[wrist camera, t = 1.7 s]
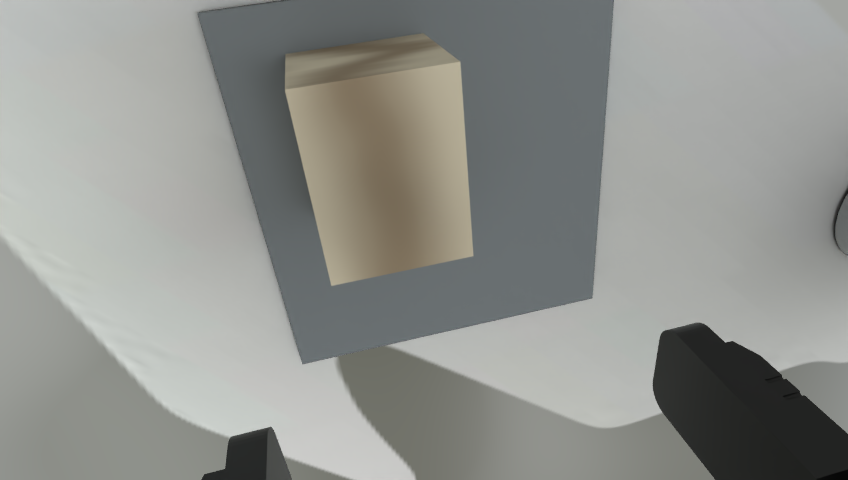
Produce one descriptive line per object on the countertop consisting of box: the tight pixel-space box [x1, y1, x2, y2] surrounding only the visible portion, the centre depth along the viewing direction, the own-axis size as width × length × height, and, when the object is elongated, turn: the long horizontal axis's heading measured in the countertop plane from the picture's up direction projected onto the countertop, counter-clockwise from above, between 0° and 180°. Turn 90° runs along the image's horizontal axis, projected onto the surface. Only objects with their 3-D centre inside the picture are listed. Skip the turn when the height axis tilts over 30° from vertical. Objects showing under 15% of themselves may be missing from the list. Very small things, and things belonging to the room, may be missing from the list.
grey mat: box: [198, 0, 614, 364], centre depth 28 cm, size 18×19×1 cm
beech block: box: [285, 33, 473, 286], centre depth 23 cm, size 6×8×6 cm
